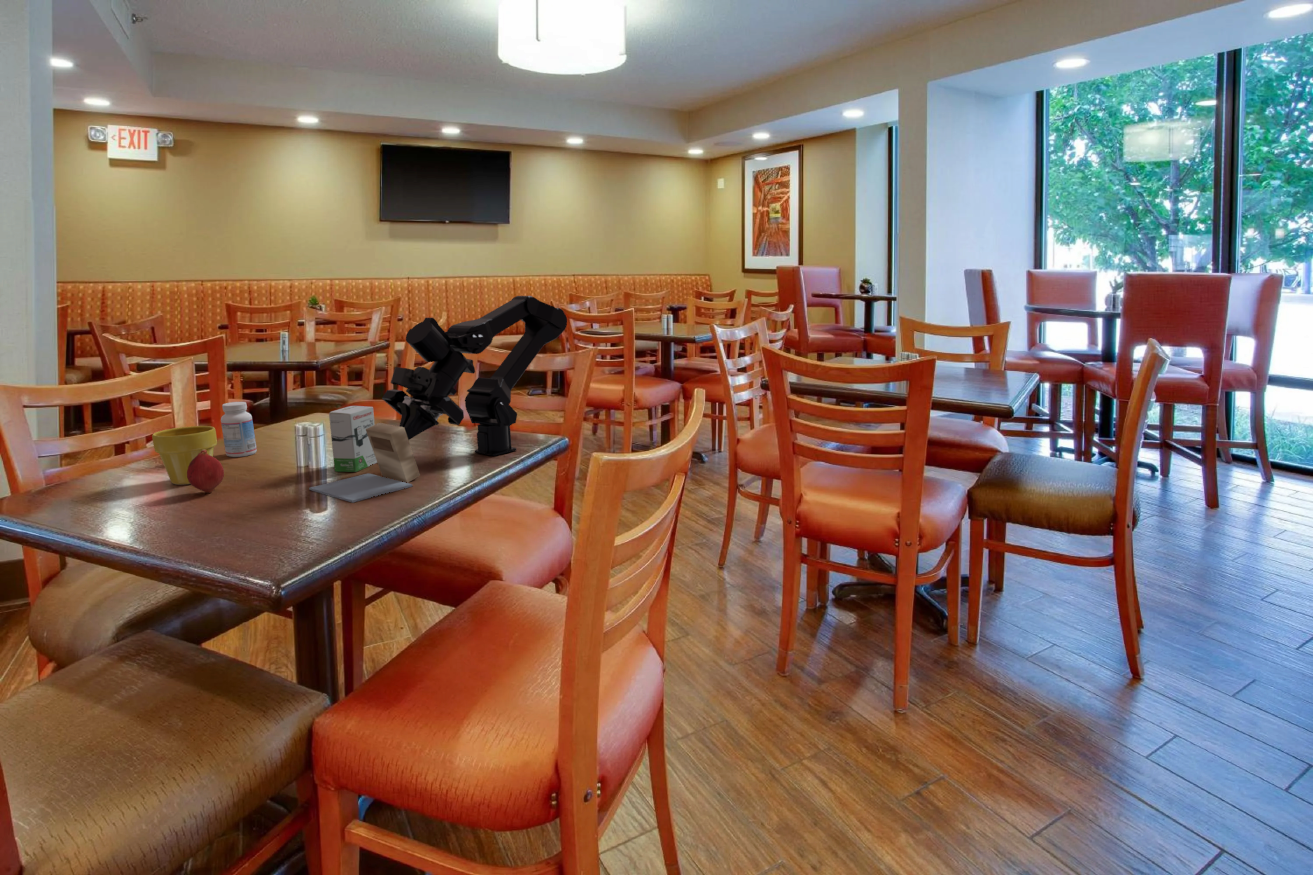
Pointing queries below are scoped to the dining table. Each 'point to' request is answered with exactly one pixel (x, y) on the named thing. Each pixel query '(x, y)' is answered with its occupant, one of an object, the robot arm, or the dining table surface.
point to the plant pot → (183, 448)
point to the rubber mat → (360, 487)
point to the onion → (205, 472)
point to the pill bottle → (238, 430)
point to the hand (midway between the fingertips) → (398, 442)
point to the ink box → (351, 438)
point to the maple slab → (393, 452)
